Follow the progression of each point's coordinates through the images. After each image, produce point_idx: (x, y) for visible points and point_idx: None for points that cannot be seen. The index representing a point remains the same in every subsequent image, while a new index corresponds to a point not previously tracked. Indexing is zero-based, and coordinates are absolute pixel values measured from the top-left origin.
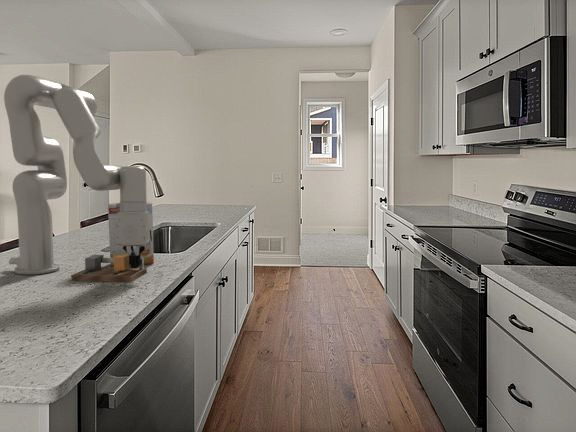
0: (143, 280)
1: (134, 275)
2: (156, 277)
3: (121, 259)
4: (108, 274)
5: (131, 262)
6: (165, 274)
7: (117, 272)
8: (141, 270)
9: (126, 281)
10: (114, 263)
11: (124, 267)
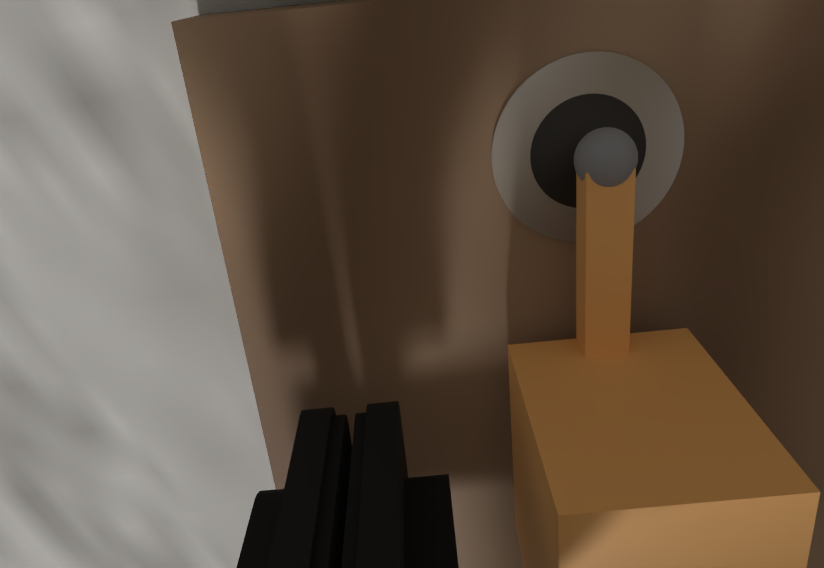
0: (81, 167)
1: (208, 172)
2: (21, 377)
3: (599, 472)
4: (705, 122)
5: (374, 470)
6: (22, 540)
7: None
8: None
9: (289, 6)
10: (730, 394)
11: (516, 396)
